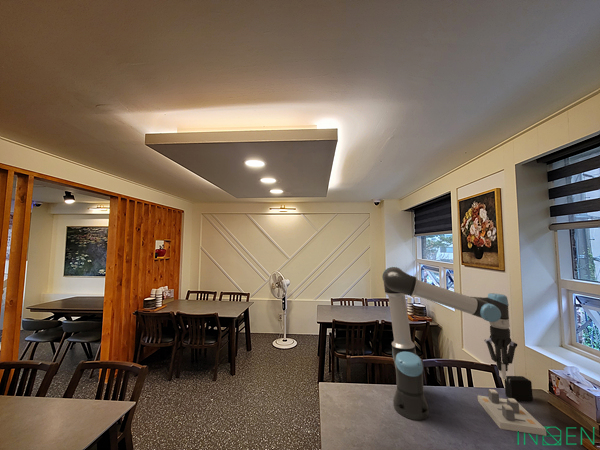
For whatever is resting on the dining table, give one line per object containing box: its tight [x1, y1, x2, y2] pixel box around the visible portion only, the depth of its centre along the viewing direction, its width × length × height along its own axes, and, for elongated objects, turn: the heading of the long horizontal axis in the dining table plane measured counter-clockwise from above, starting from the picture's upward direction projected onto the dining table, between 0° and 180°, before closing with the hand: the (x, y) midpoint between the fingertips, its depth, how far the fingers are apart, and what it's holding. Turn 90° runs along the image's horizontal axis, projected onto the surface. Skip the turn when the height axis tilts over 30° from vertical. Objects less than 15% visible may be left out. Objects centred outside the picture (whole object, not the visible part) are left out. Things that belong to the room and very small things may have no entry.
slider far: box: [487, 388, 500, 403], centre depth 114 cm, size 3×3×5 cm
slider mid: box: [506, 397, 520, 414], centre depth 108 cm, size 3×3×5 cm
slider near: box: [502, 405, 515, 421], centre depth 103 cm, size 3×3×5 cm
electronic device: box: [503, 375, 534, 403], centre depth 121 cm, size 4×10×10 cm, turn 89°
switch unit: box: [477, 395, 547, 437], centre depth 108 cm, size 16×19×3 cm
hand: (502, 377), depth 114 cm, fingers closed
